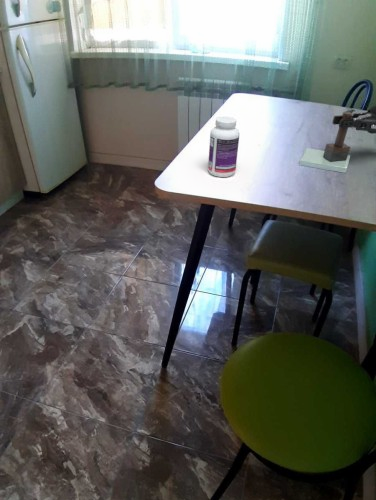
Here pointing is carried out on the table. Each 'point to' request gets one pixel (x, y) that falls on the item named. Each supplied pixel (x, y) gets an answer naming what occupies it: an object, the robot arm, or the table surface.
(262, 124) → the table surface
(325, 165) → the tile
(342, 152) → the brush
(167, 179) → the table surface
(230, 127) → the pill bottle
